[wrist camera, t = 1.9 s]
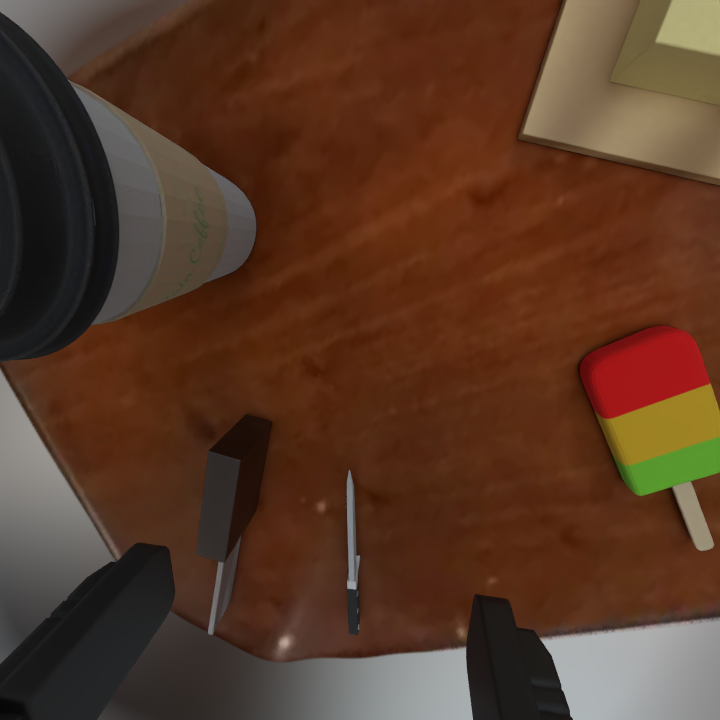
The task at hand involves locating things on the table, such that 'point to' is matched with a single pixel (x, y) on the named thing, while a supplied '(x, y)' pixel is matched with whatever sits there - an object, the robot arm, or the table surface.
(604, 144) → the board
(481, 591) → the table surface
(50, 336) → the coffee cup
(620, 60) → the butter stick
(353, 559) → the knife
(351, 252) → the table surface
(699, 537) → the popsicle
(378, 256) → the table surface
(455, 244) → the table surface
